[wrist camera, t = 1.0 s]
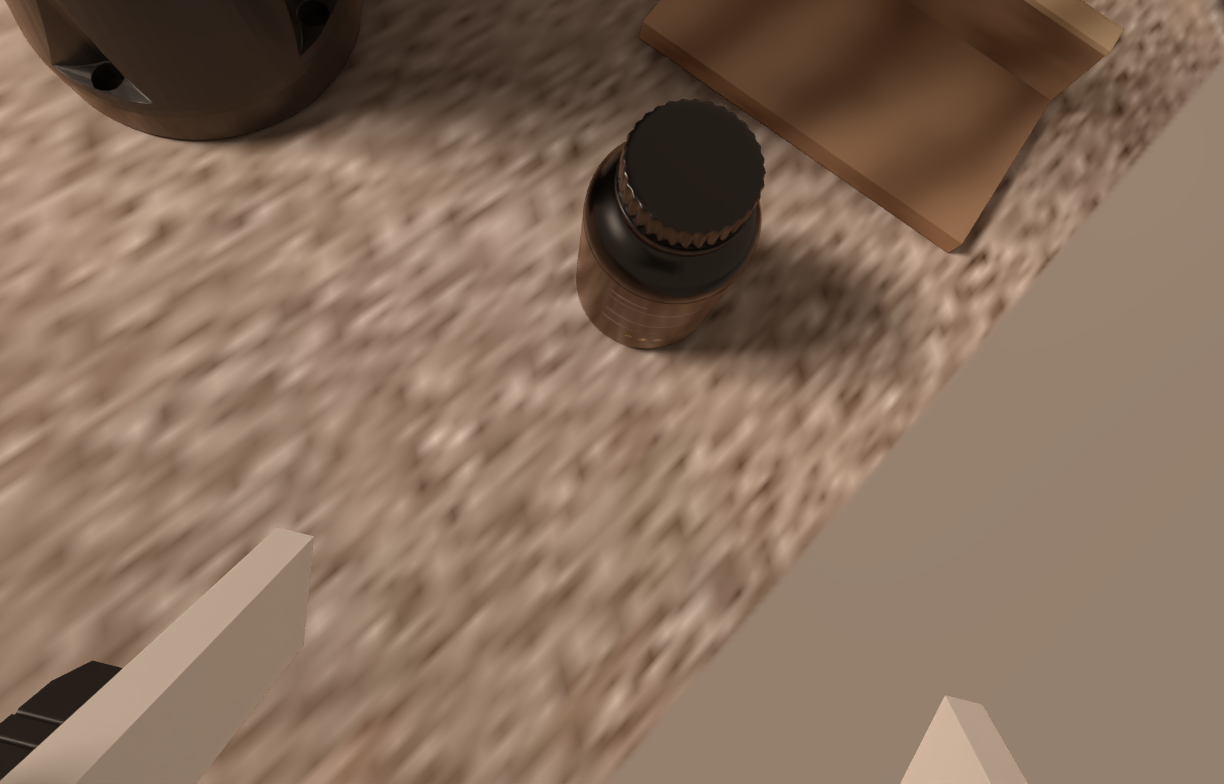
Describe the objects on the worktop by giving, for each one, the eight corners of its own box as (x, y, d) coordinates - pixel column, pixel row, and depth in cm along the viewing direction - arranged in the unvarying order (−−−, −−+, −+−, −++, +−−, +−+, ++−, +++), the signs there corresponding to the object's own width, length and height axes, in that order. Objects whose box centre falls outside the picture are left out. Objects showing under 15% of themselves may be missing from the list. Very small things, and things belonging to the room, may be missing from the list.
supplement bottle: (581, 213, 34) (602, 51, 22) (714, 231, 34) (804, 82, 23) (566, 345, 32) (581, 246, 21) (705, 361, 33) (795, 275, 21)
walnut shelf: (639, 37, 36) (654, -40, 31) (757, -106, 38) (789, -199, 33) (948, 253, 35) (1014, 209, 30) (1047, 93, 38) (1123, 29, 33)
